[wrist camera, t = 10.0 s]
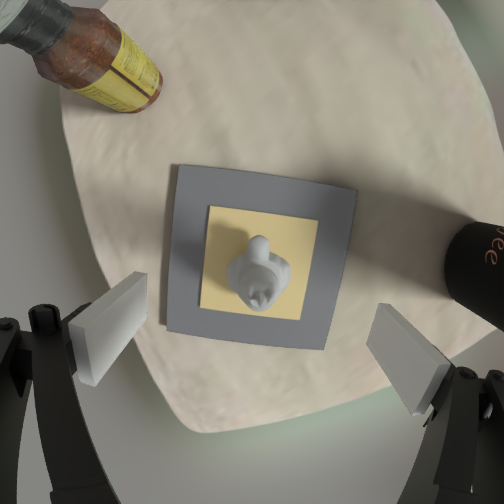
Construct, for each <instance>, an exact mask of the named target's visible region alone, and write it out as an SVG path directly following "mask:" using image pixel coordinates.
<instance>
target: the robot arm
mask: <svg viewBox="0 0 504 504" xmlns="http://www.w3.org/2000/svg"><path fill="white" fill-rule="evenodd" d="M28 314H29V320H30V325H31V329H32V332H27V331H21V330H20V326H19V322H18V321H17V320H16V319H14V318H6V317H5V318H1V319H0V504H17V496H16V495H17V470H18V458H19V449H20V441H21V433H22V428H23V422H24V416H25V411H26V406H27V401H28V397H29V393H30V388H31V384H32V380H33V387H34V397H35V407H36V414H37V421H38V428H39V433H40V438H41V444H42V448H43V453H44V457H45V462H46V466H47V469H48V473H49V476H50V480H51V483H52V487H53V491H52V492H50V499H51V503H52V504H121V502H120V501H119V499H118V497H117V495H116V493H115V491H114V489H113V487H112V485H111V483H110V481H109V479H108V477H107V475H106V473H105V470H104V468H103V466H102V464H101V461H100V459H99V457H98V454H97V452H96V449H95V447H94V444H93V442H92V439H91V437H90V434H89V431H88V428H87V425H86V422H85V419H84V416H83V413H82V410H81V407H80V404H79V400H78V396H77V393H76V389H75V385H74V381H73V378H72V375H73V374H74V373H75V372H76V371H77V373H78V377H79V381H80V382H82V383H85V384H88V385H91V386H93V387H95V386H96V385H97V384H98V382H99V381H100V380H101V378H102V377H103V375H104V374H105V373H106V371H107V370H108V369H109V367H110V366H111V365H112V363H113V362H114V361H115V359H116V358H117V356H118V355H119V354H120V353H121V351H122V350H123V349H124V347H125V346H126V345H127V344H128V342H129V341H130V340H131V338H132V337H133V336H134V334H135V333H136V332H137V331H138V329H139V328H140V327H141V325H142V324H143V323H144V322H145V320H146V319H147V273H142V272H136V271H135V272H133V273H132V274H131V275H129V276H128V277H127V278H125V279H124V280H123V281H121V282H120V283H119V284H117V285H116V286H115V287H113V288H112V289H111V290H109V291H108V292H107V293H106V294H104V295H103V296H101V297H100V298H99V299H98V300H96V301H95V302H94V303H87V304H84V305H81V306H80V307H79V308H77V309H76V310H75V311H74V312H72V313H71V314H70V315H68V316H67V317H65V318H64V319H63V320H62V321H61V319H60V312H59V309H58V307H56V306H55V305H51V304H40V305H36V306H34V307H32V308H31V309H30V310H29V312H28ZM366 345H367V346H368V348H369V349H370V351H371V352H372V354H373V355H374V357H375V358H376V360H377V362H378V363H379V365H380V366H381V368H382V369H383V371H384V372H385V374H386V375H387V377H388V379H389V380H390V382H391V383H392V385H393V386H394V388H395V389H396V391H397V393H398V394H399V396H400V398H401V399H402V401H403V402H404V404H405V406H406V407H407V409H408V411H409V412H410V414H411V416H414V415H419V414H424V413H425V412H426V410H427V408H428V407H429V405H430V403H431V404H432V406H433V407H434V409H433V411H432V413H431V415H430V416H429V417H428V419H427V421H426V422H425V424H424V425H423V427H425V426H426V425H427V428H426V431H425V434H424V437H423V440H422V443H421V446H420V450H419V452H418V455H417V458H416V461H415V463H414V466H413V468H412V471H411V473H410V476H409V478H408V481H407V483H406V485H405V487H404V489H403V492H402V494H401V496H400V498H399V500H398V502H397V504H504V374H503V372H501V371H499V370H490V371H489V372H488V374H487V376H486V378H485V379H481V378H478V376H477V374H476V373H475V372H474V371H472V370H471V369H469V368H466V367H457V368H456V367H455V366H454V365H453V364H452V363H451V362H450V361H449V360H448V359H447V358H446V357H445V356H444V355H443V354H442V353H441V352H440V351H439V350H438V349H437V348H436V347H435V346H434V345H432V344H431V343H430V342H429V341H428V340H427V339H426V338H425V337H424V336H423V335H422V334H421V333H420V332H419V331H418V330H417V329H416V328H415V327H414V326H413V325H412V324H411V323H410V322H409V321H407V320H406V319H405V318H404V317H403V316H402V315H401V314H400V313H399V312H398V311H397V310H396V309H395V308H394V307H393V306H391V305H390V304H385V303H379V304H378V308H377V311H376V315H375V318H374V321H373V324H372V328H371V331H370V334H369V337H368V340H367V343H366ZM491 410H492V413H491V415H490V417H489V418H488V415H489V413H490V412H491ZM471 486H472V490H473V493H471Z"/></svg>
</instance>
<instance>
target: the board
mask: <svg viewBox="0 0 504 504" xmlns="http://www.w3.org/2000/svg"><path fill="white" fill-rule="evenodd" d="M356 195H357V191H356V190H351V189H346V188H341V187H336V186H331V185H326V184H321V183H315V182H310V181H304V180H298V179H292V178H286V177H279V176H273V175H266V174H259V173H252V172H244V171H236V170H227V169H218V168H209V167H199V166H187V165H179V171H178V178H177V186H176V194H175V203H174V212H173V222H172V233H171V245H170V258H169V274H168V294H167V331H170V332H175V333H181V334H186V335H192V336H198V337H205V338H211V339H218V340H225V341H232V342H240V343H248V344H256V345H265V346H275V347H286V348H298V349H313V350H324V347H325V343H326V340H327V336H328V332H329V329H330V325H331V321H332V317H333V313H334V309H335V305H336V301H337V296H338V292H339V288H340V283H341V279H342V274H343V269H344V265H345V260H346V255H347V249H348V244H349V239H350V233H351V227H352V221H353V215H354V209H355V202H356ZM256 235H261V236H264V237H266V238H267V239H268V240H269V243H270V252H272V253H275V254H277V255H278V256H279V257H281V258H283V259H285V260H286V261H287V262H288V263H289V264H290V267H291V275H290V283H289V285H288V287H287V288H286V289H285V290H284V291H283V292H282V293H281V294H280V296H279V297H278V299H277V300H276V302H275V303H274V304H273V305H272V306H271V307H270V308H269V309H267V310H266V311H263V312H255V311H253V310H251V309H250V308H249V307H248V306H247V305H246V304H245V303H244V302H243V301H242V300H241V299H240V298H239V296H238V294H236V293H235V292H234V291H233V290H232V289H231V288H230V286H229V284H228V282H227V266H228V264H229V263H230V262H231V261H232V260H233V259H235V258H237V257H238V256H239V255H241V254H243V253H245V252H248V241H249V240H250V239H251V238H252V237H254V236H256Z"/></svg>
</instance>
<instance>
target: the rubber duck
mask: <svg viewBox="0 0 504 504" xmlns="http://www.w3.org/2000/svg"><path fill="white" fill-rule="evenodd" d="M290 275H291V267H290V264H289V263H288V262H287V261H286V260H285V259H283V258H281V257H279V256H278V255H277V254H275V253H272V252H270V243H269V240H268V239H267V238H266V237H264V236H261V235H256V236H254V237H252V238H251V239H250V240H249V241H248V252H245V253H243V254H241V255H239V256H238V257H237V258H235V259H233V260H232V261H231V262H230V263H229V264H228V266H227V282H228V284H229V286H230V288H231V289H232V290H233V291H234V292H235V293H236V294H238V296H239V298H240V299H241V300H242V301H243V302H244V303H245V304H246V305H247V306H248V307H249V308H250V309H251V310H253V311H255V312H263V311H266V310H267V309H269V308H270V307H271V306H272V305H273V304H274V303H275V302H276V300H277V299H278V297H279V296H280V294H281V293H282V292H283V291H284V290H285V289H286V288H287V287H288V285H289V283H290Z"/></svg>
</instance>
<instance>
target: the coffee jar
mask: <svg viewBox="0 0 504 504" xmlns="http://www.w3.org/2000/svg"><path fill="white" fill-rule="evenodd" d="M445 280H446V284H447V287H448V290H449V293H450V295H451V296H452V297H453V299H454V300H455V301H456V302H458V303H459V304H461V305H462V306H464V307H466V308H467V309H469V310H471V311H472V312H474V313H475V314H477V315H478V316H480V317H482V318H483V319H485V320H486V321H488V322H489V323H491V324H492V325H494V326H495V327H497V328H499V329H500V330H502V331H503V332H504V227H503V226H498V225H493V224H488V223H483V222H477V221H476V222H474V223H471V224H468V225H466V226H465V227H464V228H463V229H462V230H461V231H460V232H459V233H457V234H456V236H455V237H454V239H453V241H452V242H451V244H450V247H449V249H448V252H447V255H446V261H445Z"/></svg>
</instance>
